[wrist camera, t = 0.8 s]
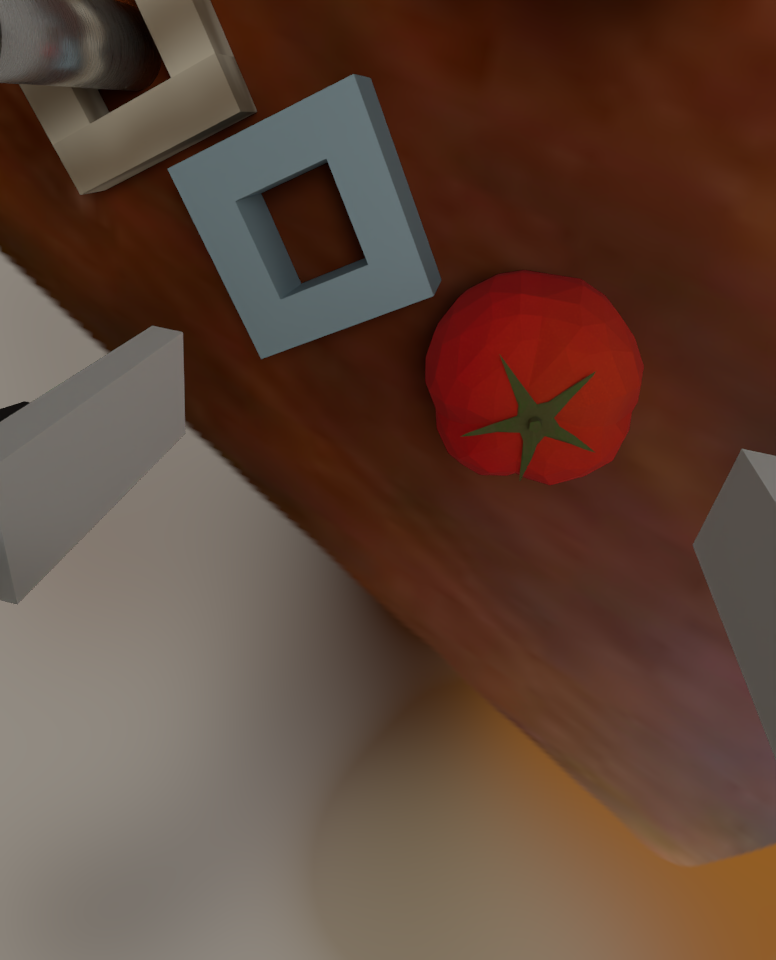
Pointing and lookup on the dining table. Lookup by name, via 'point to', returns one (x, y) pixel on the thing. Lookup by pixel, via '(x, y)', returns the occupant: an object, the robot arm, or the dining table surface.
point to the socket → (255, 239)
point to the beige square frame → (149, 102)
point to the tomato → (533, 377)
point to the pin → (76, 44)
